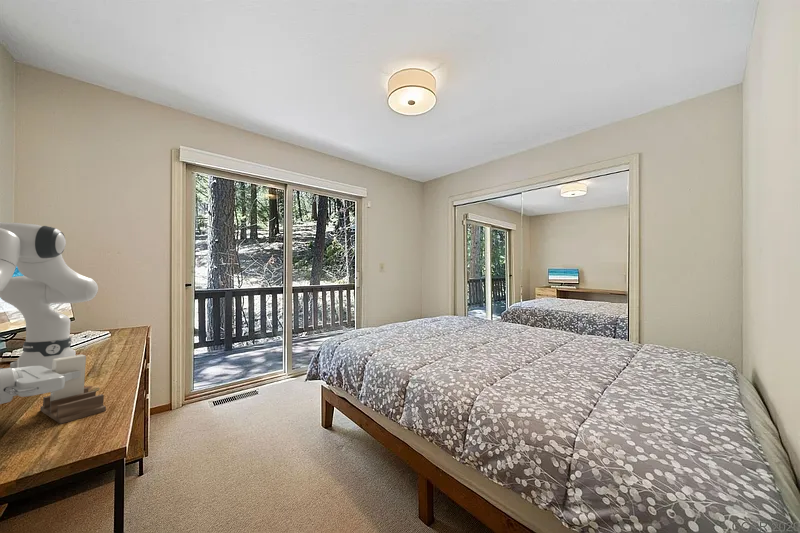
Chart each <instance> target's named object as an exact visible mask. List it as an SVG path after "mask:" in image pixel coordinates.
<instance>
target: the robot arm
mask: <svg viewBox="0 0 800 533" xmlns="http://www.w3.org/2000/svg"><path fill="white" fill-rule="evenodd" d="M64 234H65V233H64V232H62V231H61V230H59V228H57V227H52V226H47V225H43V226H42V225H40V224H35V223H23V222H4V221H0V299H1V300H2V301H4V302H5V303H7V304H9V305H11V306H13V307H14V308H16V309H17V310H18V311H19V312H20V314H21V315H22V316H23V318H24V321H25V341H24V342H23V345H22V352H21V354H20V355H19V357H18V358H17V360H14V361H13V362H10V365H9V367H5V368H3V367H0V405H2V404H7V403H10V402H11V401H12V400H13V399H14V397H15V396H18V397H21V398H25V397H32V396H37V395H43V394H48V393H51V392H54V391H58V390H61V389H63V388H64V384H65V381H68V380H71V379H74V378H79V377H80V376H81V372H80V371H72V372H70V373H66V374H58V373H56V372H54V371H52V366H53V359H56V358H62V357H69V356H75V355H77V354H76V350H75V349H72V348H71V346H72V337H71V334H70V333H71V322H72V321H71V319H70V317H69V316H68V315H66V314H63V313H61V312H58V311H55V310H54V309H53V308H52V306H51V304H52V305H56V304H79V303H83V302H84V303H85V302H89V301H92V300H93V299H94V298H96V296H97V294H98V291H99V286H98V283H97V282H96V281H95V280H94V279H93V278H92V277H87V276H85V275H83V274H80V273H79V272H77V271H75V270H74V269H72V268H71V267H69V265H67V263H66V261H65V259H64V257H63V255H62V254H63V252H64V250H65V249H66V245H67V240H66V236H65V235H64ZM16 268H17V269H18V272H19V273H20V274H21V275H19V276H14V273H15V272H16Z"/></svg>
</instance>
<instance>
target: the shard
mask: <svg viewBox="0 0 800 533" xmlns="http://www.w3.org/2000/svg"><path fill="white" fill-rule="evenodd" d="M86 387H87V388H88V392H91V391H96V392H97V391H99V390H100V389H101V388H100V387H99V386H96V385H84V388H86Z"/></svg>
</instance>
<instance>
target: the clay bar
mask: <svg viewBox="0 0 800 533" xmlns="http://www.w3.org/2000/svg"><path fill="white" fill-rule="evenodd" d="M86 360H87V356H86V355H85V354H76V355H75V356H69V357H62V358H56V359H53V366H52V371H54V372H56V373H58V374H66V373H70V372H72V371H80V372H81V376H80V377H79V378H74V379H71V380H68V381H65V384H64V388H63V389H61V390H58V391H54V392H50V395H49V396H50V401H53V400H58V399H62V398H66V397H70V396H74V395H78V394H83V393H84V386H85V378H86V365H87V364H86V363H87V362H86Z"/></svg>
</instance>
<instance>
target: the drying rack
mask: <svg viewBox="0 0 800 533" xmlns="http://www.w3.org/2000/svg"><path fill="white" fill-rule="evenodd" d="M50 396H51V395H49V396H43V399H42V405H41V406H40V409H39V410H40V412H42V413H43V414H44V415H46V416H48V417H49V418H50V419H53V421H56V422H57V423H58V424H60V425H61V424H65V423H69V422H71V421H75V420H78V419H82V418H85V417H88V416H92V415H95V414H99V413H100V414H101V413H103V412H106V411H107V408H106V407H107V406H106V405H104V398H105V395H104V394H97V391H91V392H88V388H87V387H86V388H84V393H83V394H78V395H74V396H70V397H66V398H62V399H58V400H53V401H50Z"/></svg>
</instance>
